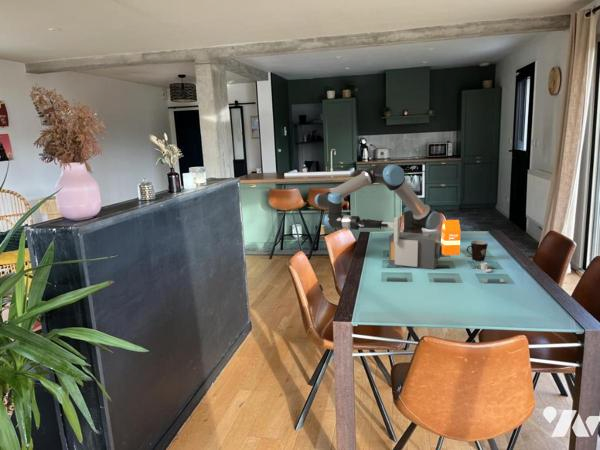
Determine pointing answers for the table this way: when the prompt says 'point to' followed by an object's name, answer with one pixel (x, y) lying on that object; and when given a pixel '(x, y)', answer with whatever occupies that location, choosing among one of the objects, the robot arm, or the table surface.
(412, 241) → the side door
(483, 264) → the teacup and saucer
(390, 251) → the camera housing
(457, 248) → the orange juice
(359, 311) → the table surface
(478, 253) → the coffee mug
